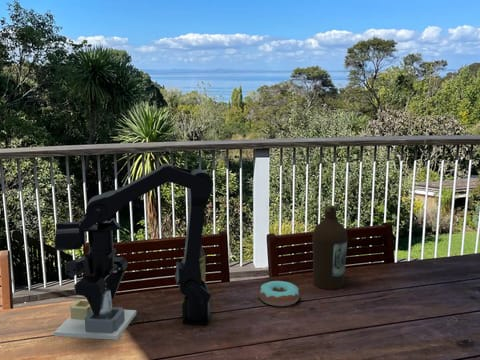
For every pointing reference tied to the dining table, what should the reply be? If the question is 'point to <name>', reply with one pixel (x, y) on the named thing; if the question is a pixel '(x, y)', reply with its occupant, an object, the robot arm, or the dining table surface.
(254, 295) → the dining table surface
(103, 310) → the metal cylinder
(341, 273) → the olive oil
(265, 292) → the donut
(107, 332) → the fitting plate
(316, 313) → the dining table surface
